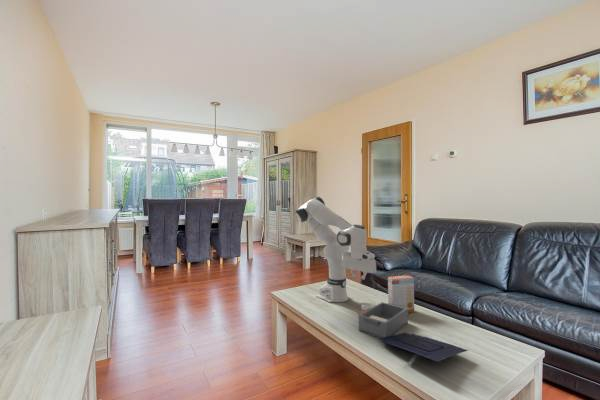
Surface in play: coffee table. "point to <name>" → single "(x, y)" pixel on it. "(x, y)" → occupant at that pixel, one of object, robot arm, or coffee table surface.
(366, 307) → the jar with white lid
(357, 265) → the robot arm
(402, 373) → the coffee table surface
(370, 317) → the cream block
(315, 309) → the coffee table surface
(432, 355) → the dark navy flat panel
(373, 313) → the tote
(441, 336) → the coffee table surface
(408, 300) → the cracker box
